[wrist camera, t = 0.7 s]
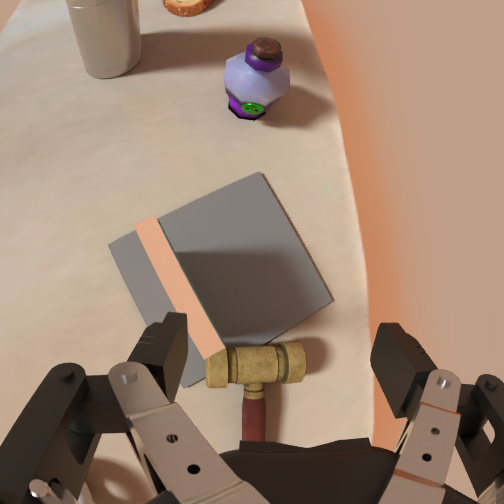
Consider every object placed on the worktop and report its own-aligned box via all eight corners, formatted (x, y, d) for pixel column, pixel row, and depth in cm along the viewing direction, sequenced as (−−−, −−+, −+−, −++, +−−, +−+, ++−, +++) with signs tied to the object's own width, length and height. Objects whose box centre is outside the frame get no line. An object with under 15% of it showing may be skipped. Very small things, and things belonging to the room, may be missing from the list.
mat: (109, 245, 33) (107, 244, 33) (258, 173, 39) (259, 171, 38) (183, 387, 32) (183, 388, 32) (330, 300, 37) (332, 300, 37)
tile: (154, 259, 34) (133, 225, 20) (168, 251, 34) (156, 213, 21) (198, 339, 33) (203, 359, 19) (212, 332, 33) (227, 346, 20)
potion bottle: (227, 135, 39) (243, 75, 27) (209, 87, 40) (218, 25, 28) (286, 124, 41) (318, 68, 29) (265, 79, 42) (287, 21, 30)
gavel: (297, 502, 29) (214, 512, 26) (286, 483, 33) (210, 491, 31) (308, 345, 30) (207, 349, 28) (292, 337, 35) (204, 340, 33)
